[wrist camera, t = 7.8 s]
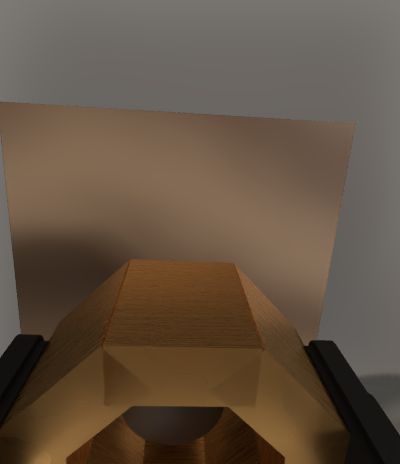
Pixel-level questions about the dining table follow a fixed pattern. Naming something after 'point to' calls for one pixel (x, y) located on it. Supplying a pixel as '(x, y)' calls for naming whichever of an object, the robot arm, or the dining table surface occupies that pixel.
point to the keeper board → (169, 212)
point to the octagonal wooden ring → (174, 375)
